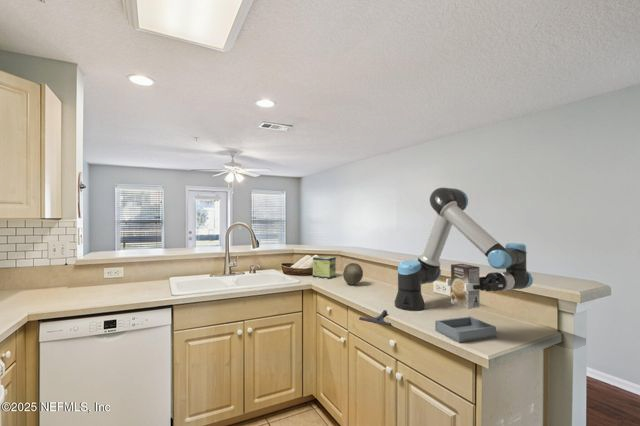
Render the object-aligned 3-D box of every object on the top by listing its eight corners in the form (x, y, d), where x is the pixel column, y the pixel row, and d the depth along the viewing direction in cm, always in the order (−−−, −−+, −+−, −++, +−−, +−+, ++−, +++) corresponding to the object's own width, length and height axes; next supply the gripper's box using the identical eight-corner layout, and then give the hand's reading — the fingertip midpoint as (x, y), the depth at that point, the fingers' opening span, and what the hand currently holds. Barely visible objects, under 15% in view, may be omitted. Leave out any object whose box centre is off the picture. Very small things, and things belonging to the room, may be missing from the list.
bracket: (400, 317, 142) (400, 312, 142) (389, 327, 129) (389, 320, 129) (372, 312, 149) (371, 307, 149) (359, 321, 137) (359, 315, 137)
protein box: (329, 279, 229) (329, 258, 229) (312, 277, 237) (312, 257, 237) (336, 277, 238) (336, 257, 238) (319, 275, 246) (319, 256, 246)
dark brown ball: (339, 285, 207) (339, 263, 207) (348, 282, 219) (348, 261, 219) (358, 288, 199) (358, 265, 200) (366, 284, 211) (366, 262, 212)
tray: (435, 330, 124) (435, 320, 124) (470, 325, 130) (470, 316, 130) (458, 342, 112) (458, 332, 112) (496, 337, 117) (496, 326, 117)
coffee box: (450, 303, 124) (449, 264, 124) (461, 301, 126) (461, 263, 127) (468, 309, 115) (468, 267, 116) (480, 307, 118) (480, 266, 118)
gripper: (523, 296, 116) (478, 301, 109) (477, 284, 137) (437, 288, 130) (523, 277, 116) (478, 280, 109) (477, 268, 137) (436, 270, 130)
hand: (455, 284), depth 120 cm, fingers closed on coffee box, 9 cm apart
